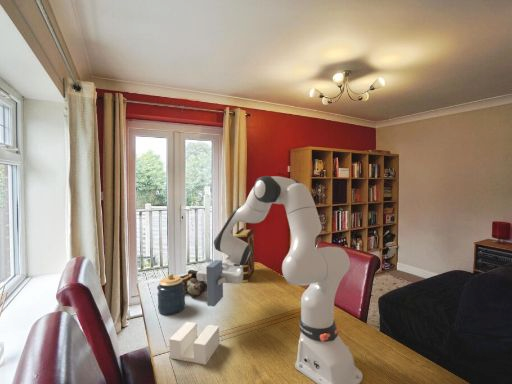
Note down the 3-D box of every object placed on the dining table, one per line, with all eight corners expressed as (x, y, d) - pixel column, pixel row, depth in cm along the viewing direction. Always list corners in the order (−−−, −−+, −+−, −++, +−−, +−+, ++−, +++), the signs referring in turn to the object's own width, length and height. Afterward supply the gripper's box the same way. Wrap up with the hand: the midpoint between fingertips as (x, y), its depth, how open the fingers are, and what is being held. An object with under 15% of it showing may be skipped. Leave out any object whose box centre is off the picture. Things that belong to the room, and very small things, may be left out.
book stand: (219, 343, 104) (219, 326, 104) (205, 364, 93) (205, 344, 92) (187, 338, 108) (186, 321, 108) (170, 358, 97) (169, 339, 96)
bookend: (190, 269, 165) (219, 273, 150) (192, 287, 165) (221, 292, 150) (170, 275, 153) (199, 280, 138) (171, 295, 153) (201, 302, 138)
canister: (157, 305, 137) (156, 271, 136) (184, 301, 142) (182, 268, 141) (158, 317, 125) (156, 280, 124) (186, 312, 130) (185, 276, 129)
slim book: (223, 296, 117) (222, 260, 116) (214, 306, 108) (213, 267, 107) (216, 296, 117) (215, 260, 117) (207, 305, 109) (206, 266, 108)
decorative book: (247, 283, 164) (246, 234, 162) (234, 282, 165) (233, 234, 164) (254, 270, 186) (253, 227, 184) (243, 270, 187) (242, 227, 186)
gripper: (204, 262, 126) (189, 273, 113) (246, 265, 120) (235, 276, 107) (204, 276, 126) (189, 287, 113) (246, 279, 121) (235, 292, 107)
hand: (212, 282), depth 110 cm, fingers closed on slim book, 3 cm apart
